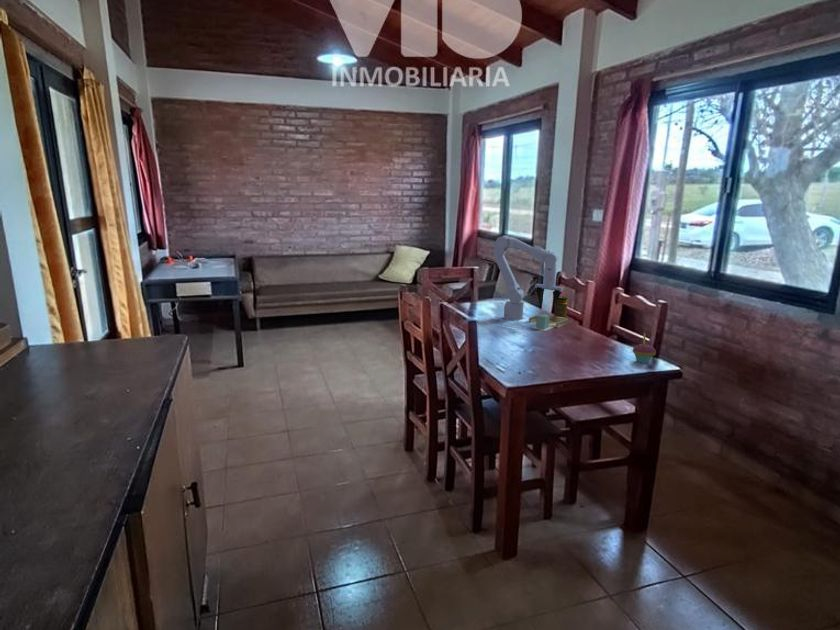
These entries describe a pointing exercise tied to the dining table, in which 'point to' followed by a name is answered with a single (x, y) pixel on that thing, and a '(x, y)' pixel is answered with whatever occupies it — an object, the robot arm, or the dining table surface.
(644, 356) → the cupcake
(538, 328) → the coaster
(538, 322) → the block
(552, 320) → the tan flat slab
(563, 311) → the condiment
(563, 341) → the dining table surface
